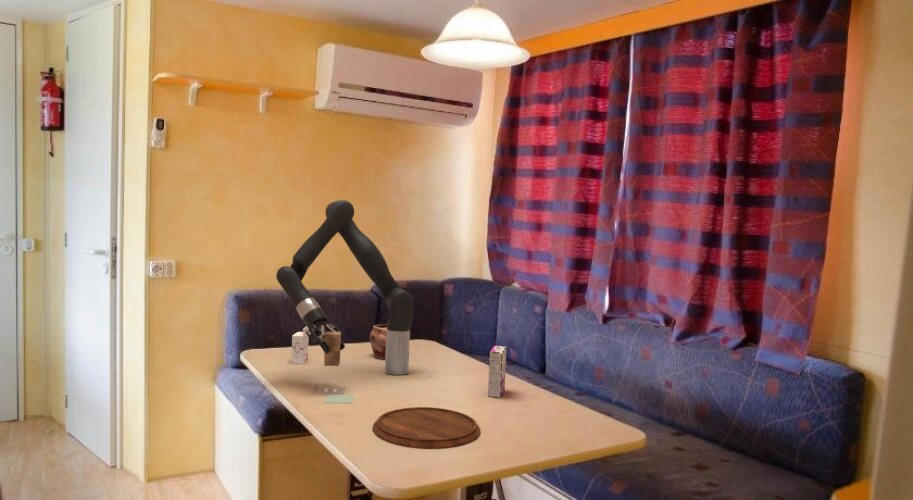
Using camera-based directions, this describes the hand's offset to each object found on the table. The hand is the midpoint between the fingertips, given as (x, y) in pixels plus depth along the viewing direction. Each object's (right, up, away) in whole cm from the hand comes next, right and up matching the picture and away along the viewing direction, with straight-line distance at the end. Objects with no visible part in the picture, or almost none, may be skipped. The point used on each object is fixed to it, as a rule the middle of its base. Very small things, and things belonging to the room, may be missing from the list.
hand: (335, 350), depth 226 cm
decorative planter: (+10, -12, +60) cm, 62 cm away
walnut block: (-1, -5, +1) cm, 5 cm away
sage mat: (+3, -15, -9) cm, 18 cm away
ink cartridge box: (-23, -11, +43) cm, 50 cm away
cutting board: (+33, -19, -33) cm, 51 cm away
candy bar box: (+56, -17, +9) cm, 60 cm away
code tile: (-2, -15, +1) cm, 15 cm away
